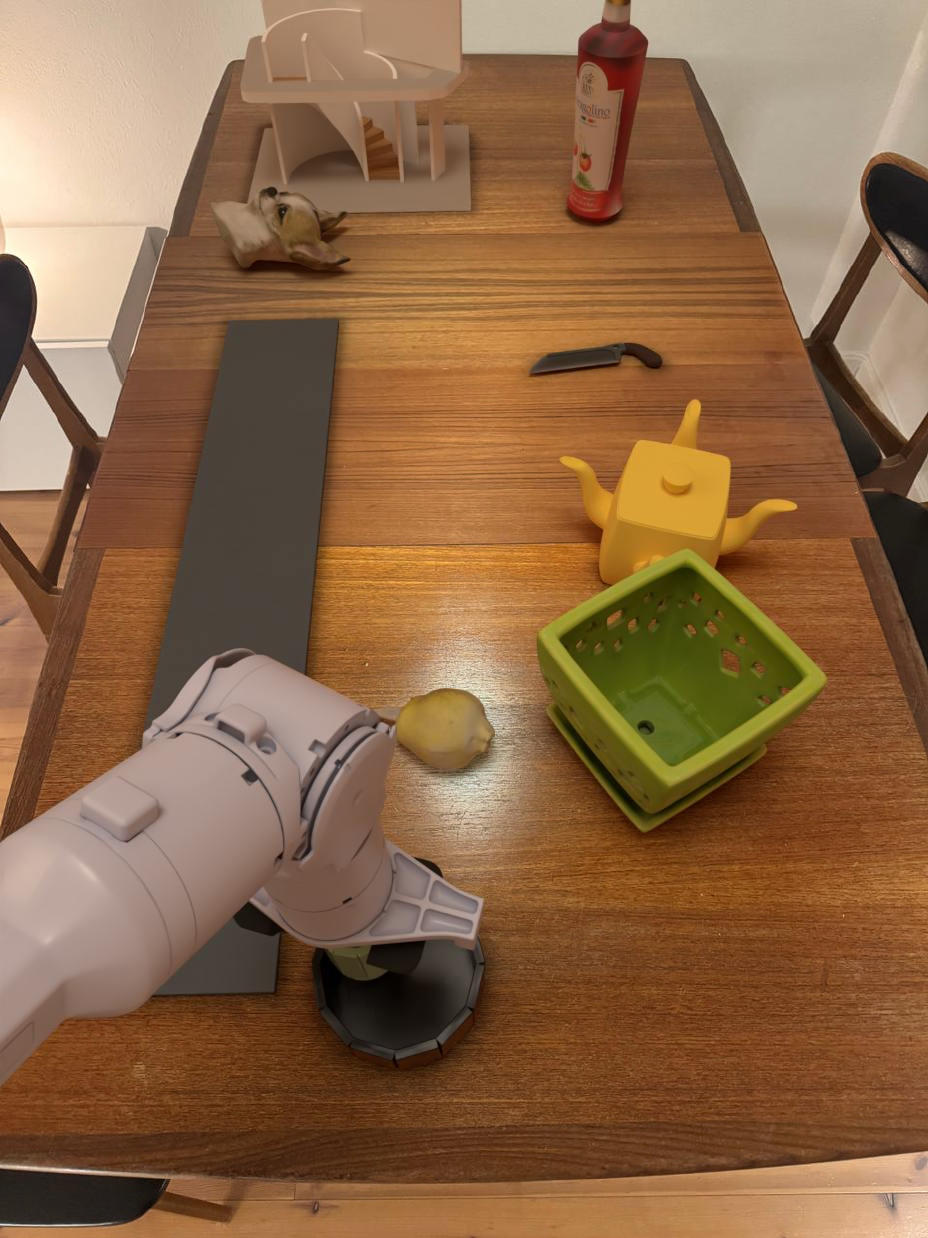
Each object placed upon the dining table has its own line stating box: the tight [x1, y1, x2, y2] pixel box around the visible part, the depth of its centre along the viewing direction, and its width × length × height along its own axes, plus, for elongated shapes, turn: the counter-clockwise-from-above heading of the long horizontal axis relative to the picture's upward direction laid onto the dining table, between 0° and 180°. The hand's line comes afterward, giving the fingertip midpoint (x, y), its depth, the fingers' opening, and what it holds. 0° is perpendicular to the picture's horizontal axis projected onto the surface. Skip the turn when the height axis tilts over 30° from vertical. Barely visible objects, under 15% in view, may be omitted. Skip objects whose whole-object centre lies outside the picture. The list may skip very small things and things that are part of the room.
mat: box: [139, 318, 340, 997], centre depth 76 cm, size 69×12×1 cm, turn 1°
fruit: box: [372, 687, 496, 771], centre depth 65 cm, size 6×6×10 cm
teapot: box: [559, 399, 798, 603], centre depth 73 cm, size 15×14×10 cm
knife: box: [528, 342, 663, 374], centre depth 91 cm, size 14×4×1 cm, turn 100°
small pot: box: [324, 945, 388, 980], centre depth 51 cm, size 4×5×6 cm
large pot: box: [310, 935, 486, 1071], centre depth 55 cm, size 10×10×4 cm
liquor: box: [565, 0, 649, 223], centre depth 96 cm, size 7×7×28 cm
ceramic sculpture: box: [210, 187, 351, 271], centre depth 99 cm, size 11×9×15 cm
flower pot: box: [536, 548, 828, 834], centre depth 61 cm, size 14×14×13 cm
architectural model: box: [239, 0, 472, 214], centre depth 104 cm, size 28×21×23 cm
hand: (354, 931), depth 49 cm, fingers closed on small pot, 4 cm apart
